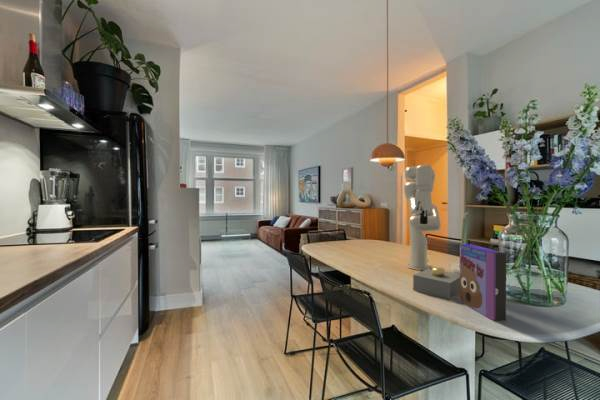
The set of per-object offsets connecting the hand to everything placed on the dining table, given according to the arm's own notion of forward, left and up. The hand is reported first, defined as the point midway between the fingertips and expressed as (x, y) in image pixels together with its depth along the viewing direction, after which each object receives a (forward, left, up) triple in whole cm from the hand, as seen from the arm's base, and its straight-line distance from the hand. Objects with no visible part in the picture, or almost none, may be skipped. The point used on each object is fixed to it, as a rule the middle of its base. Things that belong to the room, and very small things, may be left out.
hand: (423, 223), depth 144 cm
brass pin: (+12, +12, -28) cm, 33 cm away
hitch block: (+12, +12, -29) cm, 34 cm away
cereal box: (+23, +32, -29) cm, 49 cm away
